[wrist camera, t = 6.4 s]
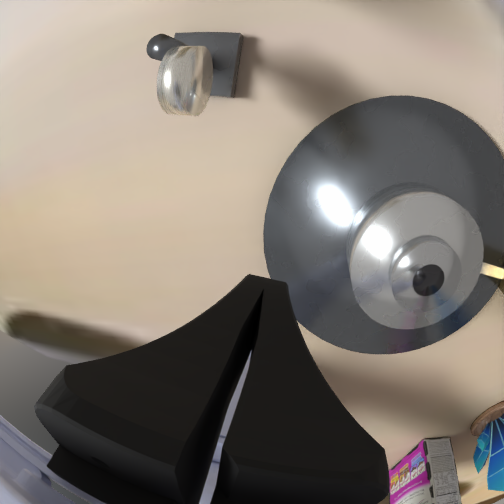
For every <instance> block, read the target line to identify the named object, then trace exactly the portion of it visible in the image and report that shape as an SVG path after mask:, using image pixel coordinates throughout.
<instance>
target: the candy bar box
mask: <svg viewBox="0 0 504 504" xmlns="http://www.w3.org/2000/svg"><path fill="white" fill-rule="evenodd" d="M389 482H390V491H389V504H462V503H461V496H460V489H459V482H458V476H457V470H456V465H455V459H454V454H453V449H452V445H451V440H450V437H442V438H433V439H423V440H422V441H421V442H420V443H419V444H418V445H417V446H416V447H415V448H414V449H413V450H412V451H410V452H409V453H408V454H407V455H406V456H405V457H404V458H403V459H402V460H401V461H400V462H399V463H397V464H396V465H395V466H394V467H393V468H392V469H391V470H389Z"/></svg>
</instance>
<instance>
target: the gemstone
mask: <svg viewBox="0 0 504 504" xmlns="http://www.w3.org/2000/svg"><path fill="white" fill-rule="evenodd" d="M471 432H472V434H473V435H475V436H479V438H478V439H477V442H478V444H477V446H476V450H475V453H474V456H473V459H474V463H475V467H476V469H477V472H478V473H479V472H480V471H481V469H482V468H483V466H484V465H485V463H486V460H487V458H488V455H489V452H490V457H489V467H488V475H487V483H488V490H496V491H504V401H503V402H500V403H498V404H496V405H494V406H492V407H491V408H489V409H487V410H486V411H485V412H483V413H482V414H481V415H480V416H479V417H478V418H477V419H476V420H475V421H474V422H473V424H472V426H471ZM490 440H491V445H490Z"/></svg>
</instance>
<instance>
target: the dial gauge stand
mask: <svg viewBox="0 0 504 504" xmlns="http://www.w3.org/2000/svg"><path fill="white" fill-rule="evenodd" d="M242 41H243V36H242V34H241V33H226V32H192V33H175V38H172V37H170V36H167V35H165V34H159V35H156V36H154V37H153V38H152V39H151V40H150V41H149V43H148V45H147V54H148V55H149V57H151V58H152V59H156V60H160V61H162V62H161V64H160V67H159V71H158V77H157V94H158V100H159V103H160V105H161V108H162V109H163V110H164V112H166V113H167V114H173V115H189V116H198V115H200V114H201V113H202V112H203V110H204V109H205V107H206V105H207V103H208V100H209V97H210V96H220V97H231V98H234V94H235V87H236V80H237V73H238V67H239V60H240V54H241V48H242Z"/></svg>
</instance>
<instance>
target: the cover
mask: <svg viewBox="0 0 504 504" xmlns="http://www.w3.org/2000/svg"><path fill="white" fill-rule="evenodd" d="M483 253H484V248H483V240H482V236H481V232H480V230H479V227H478V225H477V223H476V222H475V220H474V218H473V217H472V216H471V215H470V213H469V212H468V211H467V210H466V209H464V208H463V207H462V206H461V205H459V204H458V203H457V202H455V201H454V200H453V199H451V198H450V197H448V196H447V195H446V194H444V193H443V192H441V191H440V190H438V189H436V188H435V187H432V186H430V185H427V184H423V183H416V182H407V183H400V184H395V185H392V186H390V187H387V188H385V189H383V190H381V191H379V192H378V193H377V194H375V195H374V196H372V197H371V198H370V199H369V200H368V201H367V202H366V203H365V204H364V205H363V206H362V207H361V209H360V210H359V211H358V213H357V214H356V216H355V218H354V220H353V222H352V224H351V226H350V229H349V232H348V237H347V243H346V255H347V261H348V267H349V272H350V277H351V283H352V288H353V292H354V295H355V298H356V300H357V302H358V304H359V306H360V307H361V308H362V310H363V311H364V312H365V313H366V314H367V315H368V316H369V317H370V318H372V319H373V320H375V321H376V322H378V323H380V324H382V325H385V326H387V327H391V328H396V329H416V328H422V327H425V326H429V325H431V324H434V323H436V322H438V321H440V320H442V319H444V318H445V317H447V316H449V315H450V314H451V313H453V312H454V311H455V310H456V309H457V308H458V307H459V306H460V305H461V304H462V303H463V302H464V301H465V300H466V299H467V297H468V296H469V295H470V293H471V292H472V290H473V288H474V286H475V285H476V283H477V280H478V278H479V275H480V272H481V268H482V264H483Z"/></svg>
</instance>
